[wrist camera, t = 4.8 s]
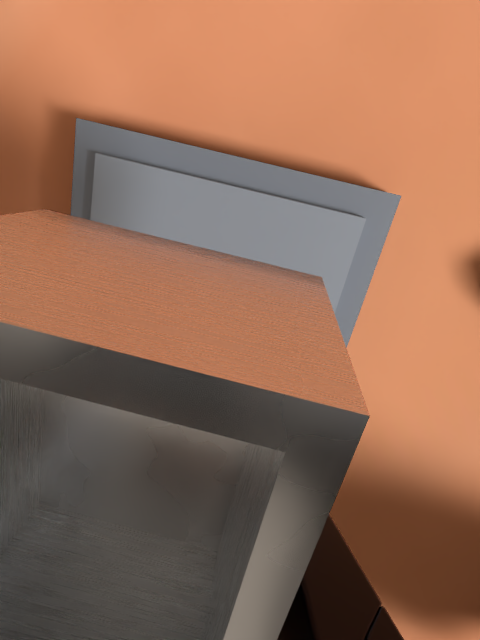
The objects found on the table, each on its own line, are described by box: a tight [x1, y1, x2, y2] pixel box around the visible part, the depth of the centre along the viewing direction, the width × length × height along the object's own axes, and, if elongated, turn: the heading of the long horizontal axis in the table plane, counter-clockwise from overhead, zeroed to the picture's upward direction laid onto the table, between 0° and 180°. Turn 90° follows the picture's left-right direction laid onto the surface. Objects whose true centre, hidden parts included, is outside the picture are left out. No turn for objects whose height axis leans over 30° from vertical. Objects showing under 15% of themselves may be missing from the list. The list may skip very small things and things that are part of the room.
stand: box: [71, 118, 401, 348], centre depth 17 cm, size 12×12×2 cm
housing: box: [0, 209, 369, 640], centre depth 7 cm, size 6×8×5 cm
